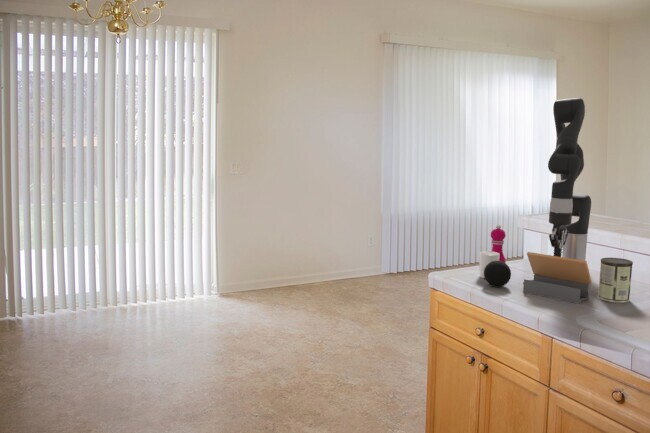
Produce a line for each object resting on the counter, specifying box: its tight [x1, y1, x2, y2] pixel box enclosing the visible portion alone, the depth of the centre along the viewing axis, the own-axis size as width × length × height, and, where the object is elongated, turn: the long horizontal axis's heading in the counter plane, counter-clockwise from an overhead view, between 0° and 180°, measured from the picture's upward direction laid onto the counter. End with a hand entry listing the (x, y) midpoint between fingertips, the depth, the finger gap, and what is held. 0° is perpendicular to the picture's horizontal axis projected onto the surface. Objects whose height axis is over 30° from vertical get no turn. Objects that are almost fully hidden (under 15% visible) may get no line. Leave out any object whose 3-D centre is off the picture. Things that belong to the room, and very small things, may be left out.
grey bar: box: [522, 281, 589, 299], centre depth 217 cm, size 2×23×2 cm, turn 48°
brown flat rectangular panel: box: [526, 251, 593, 285], centre depth 216 cm, size 12×21×1 cm
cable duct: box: [522, 274, 590, 304], centre depth 216 cm, size 10×20×5 cm, turn 48°
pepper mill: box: [490, 224, 507, 263], centre depth 250 cm, size 7×7×20 cm
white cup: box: [478, 250, 500, 279], centre depth 241 cm, size 8×8×10 cm
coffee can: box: [597, 257, 634, 304], centre depth 212 cm, size 10×10×14 cm
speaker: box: [483, 261, 512, 288], centre depth 227 cm, size 10×10×10 cm
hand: (557, 258), depth 214 cm, fingers closed
